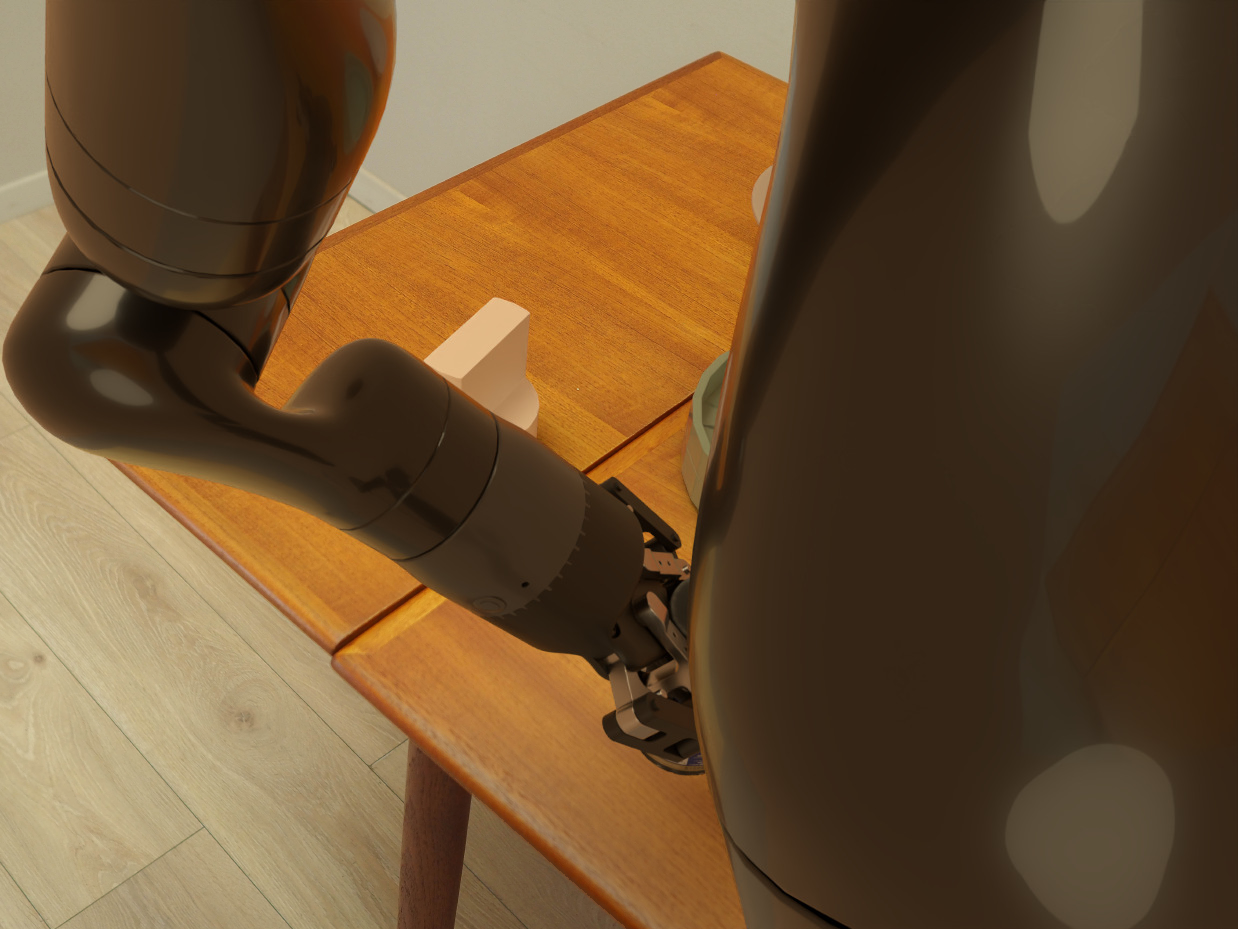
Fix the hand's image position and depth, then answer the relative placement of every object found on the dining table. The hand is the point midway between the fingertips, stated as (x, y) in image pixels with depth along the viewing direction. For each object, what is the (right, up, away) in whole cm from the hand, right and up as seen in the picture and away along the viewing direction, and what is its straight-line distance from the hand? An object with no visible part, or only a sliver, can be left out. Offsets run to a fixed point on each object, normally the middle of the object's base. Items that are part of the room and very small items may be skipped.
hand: (729, 673), depth 55 cm
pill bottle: (-2, -4, +4) cm, 6 cm away
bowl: (+10, +10, +28) cm, 31 cm away
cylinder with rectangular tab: (-17, +11, +25) cm, 32 cm away
